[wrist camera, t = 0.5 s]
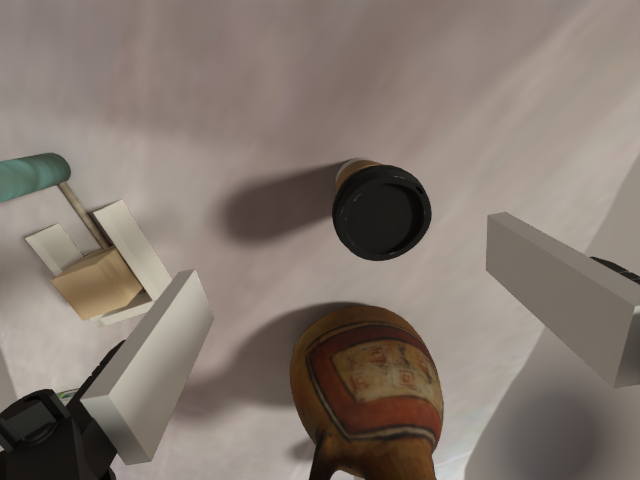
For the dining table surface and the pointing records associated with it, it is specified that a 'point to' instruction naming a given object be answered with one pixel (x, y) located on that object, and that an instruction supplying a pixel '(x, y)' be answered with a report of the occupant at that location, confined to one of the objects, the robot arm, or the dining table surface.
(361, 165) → the coffee cup
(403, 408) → the ceramic pitcher
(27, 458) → the robot arm
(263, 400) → the dining table surface
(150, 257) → the rail lane
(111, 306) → the corded oak block
